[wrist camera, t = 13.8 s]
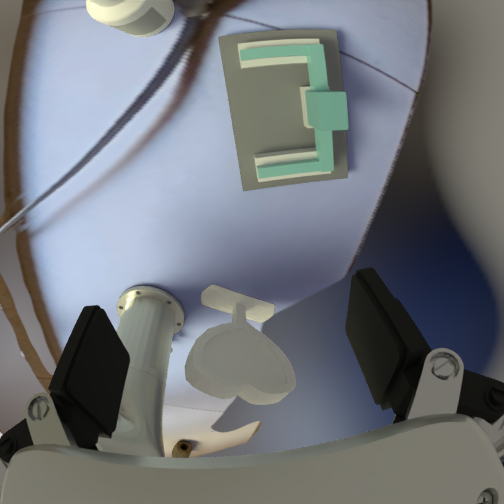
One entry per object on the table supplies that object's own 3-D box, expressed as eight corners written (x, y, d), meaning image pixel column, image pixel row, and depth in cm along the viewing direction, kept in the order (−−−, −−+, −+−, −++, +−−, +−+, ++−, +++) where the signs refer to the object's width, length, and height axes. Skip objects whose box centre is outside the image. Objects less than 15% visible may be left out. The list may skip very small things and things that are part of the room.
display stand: (342, 173, 38) (353, 183, 34) (242, 185, 38) (243, 197, 35) (330, 32, 27) (342, 27, 23) (218, 39, 27) (217, 33, 24)
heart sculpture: (284, 307, 51) (302, 395, 35) (270, 325, 53) (283, 410, 38) (201, 280, 46) (192, 374, 31) (191, 301, 48) (181, 392, 33)
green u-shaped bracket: (334, 166, 33) (350, 179, 29) (258, 175, 33) (262, 190, 29) (324, 46, 25) (340, 40, 21) (239, 51, 25) (241, 44, 21)
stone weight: (188, 450, 94) (188, 464, 89) (171, 448, 93) (171, 462, 87) (192, 440, 87) (192, 456, 81) (173, 438, 85) (172, 453, 80)
